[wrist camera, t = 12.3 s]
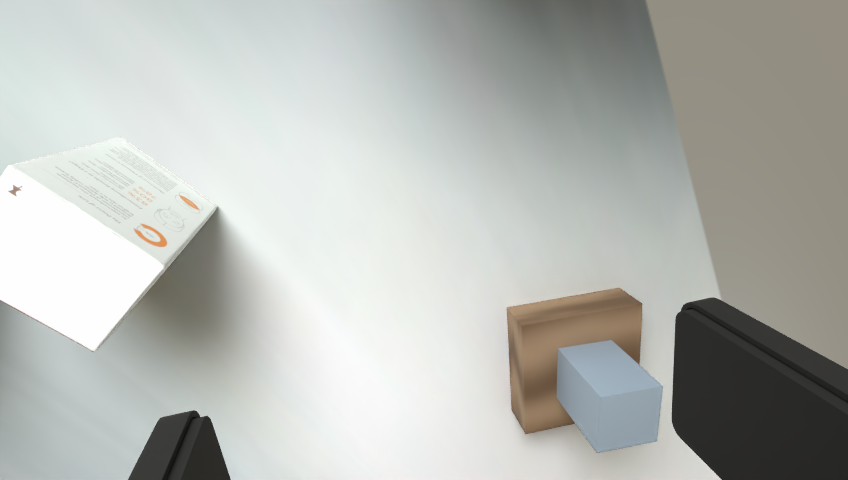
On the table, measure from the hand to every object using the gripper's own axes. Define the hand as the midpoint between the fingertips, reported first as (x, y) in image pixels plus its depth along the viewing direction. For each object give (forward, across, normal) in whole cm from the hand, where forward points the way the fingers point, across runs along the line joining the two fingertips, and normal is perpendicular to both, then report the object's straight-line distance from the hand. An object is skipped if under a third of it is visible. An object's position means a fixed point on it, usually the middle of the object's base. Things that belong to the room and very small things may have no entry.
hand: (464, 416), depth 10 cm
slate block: (+27, -16, +20) cm, 37 cm away
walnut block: (+31, -16, +20) cm, 40 cm away
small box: (+31, +16, 0) cm, 34 cm away
